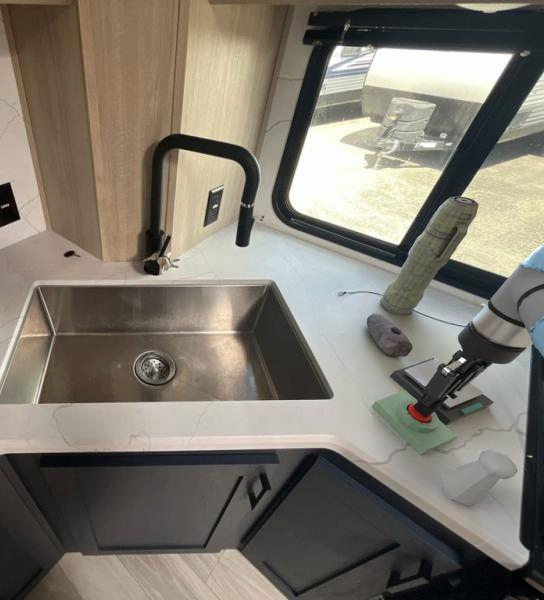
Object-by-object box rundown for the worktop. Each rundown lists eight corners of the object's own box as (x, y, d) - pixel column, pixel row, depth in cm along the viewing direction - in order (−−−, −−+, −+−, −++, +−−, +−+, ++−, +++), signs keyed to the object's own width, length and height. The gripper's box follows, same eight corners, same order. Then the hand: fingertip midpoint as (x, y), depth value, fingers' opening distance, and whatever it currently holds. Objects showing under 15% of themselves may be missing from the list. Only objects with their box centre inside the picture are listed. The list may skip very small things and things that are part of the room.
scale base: (488, 407, 75) (496, 400, 73) (445, 425, 71) (452, 419, 69) (429, 362, 85) (435, 355, 83) (389, 376, 81) (394, 370, 80)
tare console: (451, 441, 68) (463, 431, 66) (420, 455, 66) (431, 446, 63) (400, 395, 77) (408, 385, 74) (371, 406, 75) (379, 396, 72)
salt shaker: (428, 474, 63) (471, 442, 55) (458, 475, 63) (505, 443, 55) (449, 508, 58) (499, 478, 50) (481, 509, 58) (537, 479, 50)
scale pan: (481, 395, 74) (484, 393, 73) (448, 409, 71) (450, 407, 71) (434, 360, 82) (436, 358, 81) (402, 371, 79) (404, 369, 79)
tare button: (432, 421, 69) (436, 417, 68) (418, 427, 68) (422, 422, 67) (414, 405, 72) (418, 401, 71) (401, 411, 71) (405, 406, 70)
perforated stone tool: (357, 323, 96) (367, 305, 92) (374, 323, 96) (385, 305, 92) (385, 362, 85) (398, 344, 80) (405, 362, 85) (419, 344, 80)
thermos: (391, 318, 98) (464, 209, 76) (371, 294, 107) (431, 191, 85) (421, 319, 98) (502, 210, 76) (398, 295, 107) (465, 191, 85)
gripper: (499, 310, 58) (426, 388, 73) (447, 327, 55) (382, 405, 70) (551, 339, 52) (461, 417, 67) (497, 359, 49) (415, 436, 64)
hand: (421, 411), depth 68 cm, fingers closed
